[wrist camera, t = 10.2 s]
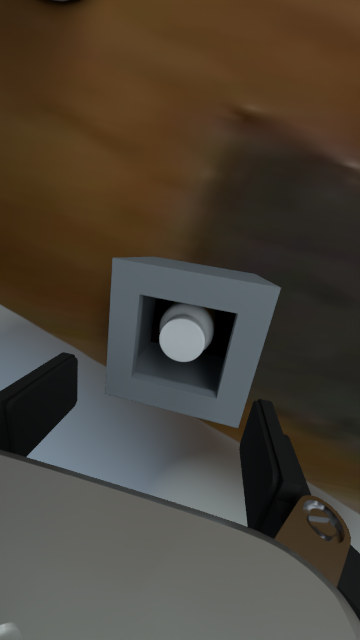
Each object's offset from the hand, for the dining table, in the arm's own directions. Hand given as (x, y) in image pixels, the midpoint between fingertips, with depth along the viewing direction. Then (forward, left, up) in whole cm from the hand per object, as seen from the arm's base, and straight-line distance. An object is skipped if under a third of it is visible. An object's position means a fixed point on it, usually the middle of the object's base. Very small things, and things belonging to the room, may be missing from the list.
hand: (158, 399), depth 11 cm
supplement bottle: (0, 0, -18) cm, 18 cm away
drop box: (0, 0, -17) cm, 17 cm away
